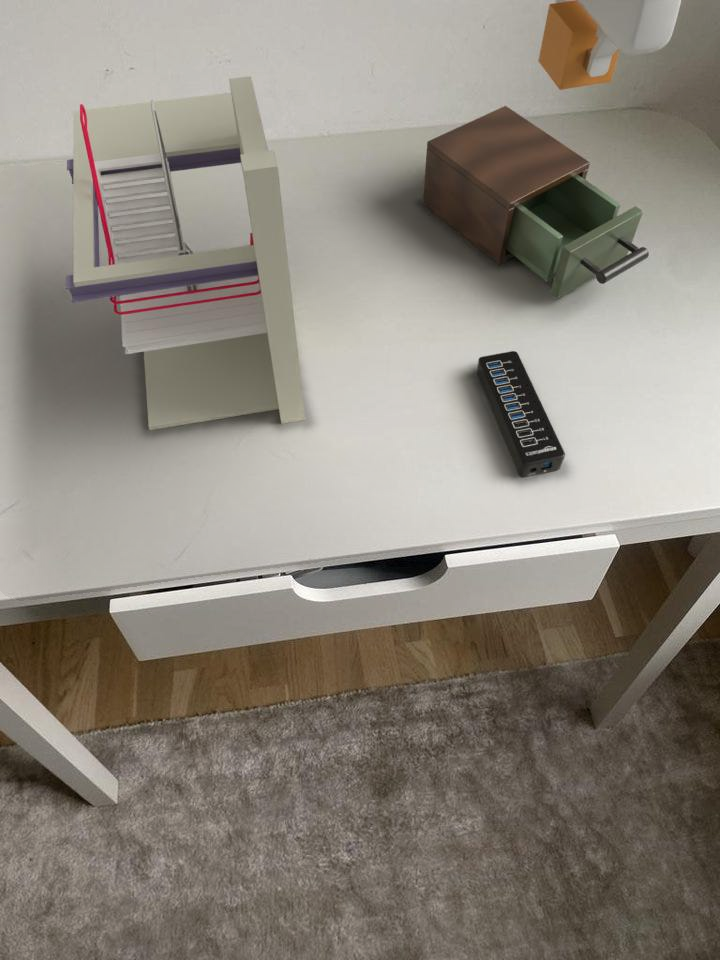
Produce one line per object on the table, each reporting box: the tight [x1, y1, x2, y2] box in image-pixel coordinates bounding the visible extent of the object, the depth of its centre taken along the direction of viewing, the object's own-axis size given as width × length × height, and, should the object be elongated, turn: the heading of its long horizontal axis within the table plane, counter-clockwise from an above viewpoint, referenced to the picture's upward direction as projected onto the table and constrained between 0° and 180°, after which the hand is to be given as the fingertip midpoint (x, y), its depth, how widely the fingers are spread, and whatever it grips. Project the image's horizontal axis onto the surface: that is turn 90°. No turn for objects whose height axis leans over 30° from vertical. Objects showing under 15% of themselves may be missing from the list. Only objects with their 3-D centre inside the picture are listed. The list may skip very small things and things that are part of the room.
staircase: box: [65, 75, 306, 431], centre depth 74 cm, size 27×18×30 cm
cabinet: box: [422, 105, 591, 265], centre depth 95 cm, size 15×13×9 cm
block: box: [538, 0, 620, 91], centre depth 68 cm, size 5×5×5 cm
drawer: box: [506, 174, 650, 300], centre depth 90 cm, size 18×12×7 cm, turn 36°
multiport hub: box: [475, 350, 566, 478], centre depth 79 cm, size 4×14×2 cm, turn 13°
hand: (578, 53), depth 68 cm, fingers closed on block, 5 cm apart
